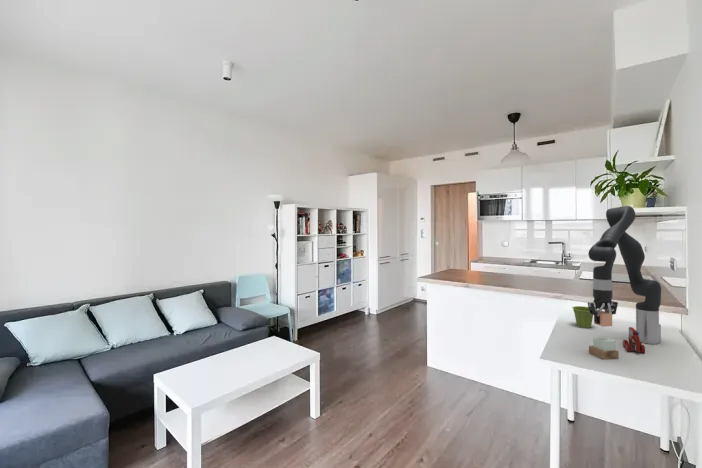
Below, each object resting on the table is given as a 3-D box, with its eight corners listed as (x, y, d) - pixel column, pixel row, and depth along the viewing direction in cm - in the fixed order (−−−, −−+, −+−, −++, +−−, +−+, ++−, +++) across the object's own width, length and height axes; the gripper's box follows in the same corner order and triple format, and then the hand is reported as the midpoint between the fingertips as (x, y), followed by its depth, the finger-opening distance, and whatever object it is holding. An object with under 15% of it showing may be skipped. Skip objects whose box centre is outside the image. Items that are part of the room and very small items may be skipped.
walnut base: (604, 353, 163) (603, 344, 163) (618, 359, 155) (618, 350, 155) (589, 353, 162) (588, 345, 162) (602, 360, 154) (602, 351, 154)
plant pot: (567, 324, 209) (567, 306, 209) (584, 323, 211) (584, 305, 210) (582, 330, 198) (582, 311, 197) (600, 328, 199) (600, 310, 199)
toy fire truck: (628, 353, 161) (628, 332, 161) (621, 345, 172) (621, 325, 172) (647, 355, 158) (646, 334, 157) (638, 347, 169) (638, 327, 168)
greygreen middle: (604, 345, 162) (604, 336, 162) (615, 350, 156) (615, 340, 156) (593, 346, 161) (593, 337, 161) (604, 351, 155) (603, 341, 155)
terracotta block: (603, 323, 162) (603, 310, 161) (612, 326, 157) (612, 313, 156) (593, 323, 161) (593, 311, 161) (602, 326, 156) (602, 314, 156)
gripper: (609, 286, 163) (609, 320, 163) (582, 287, 162) (582, 321, 162) (623, 289, 155) (623, 324, 156) (594, 290, 154) (595, 326, 155)
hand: (602, 323), depth 159 cm, fingers closed on terracotta block, 5 cm apart
